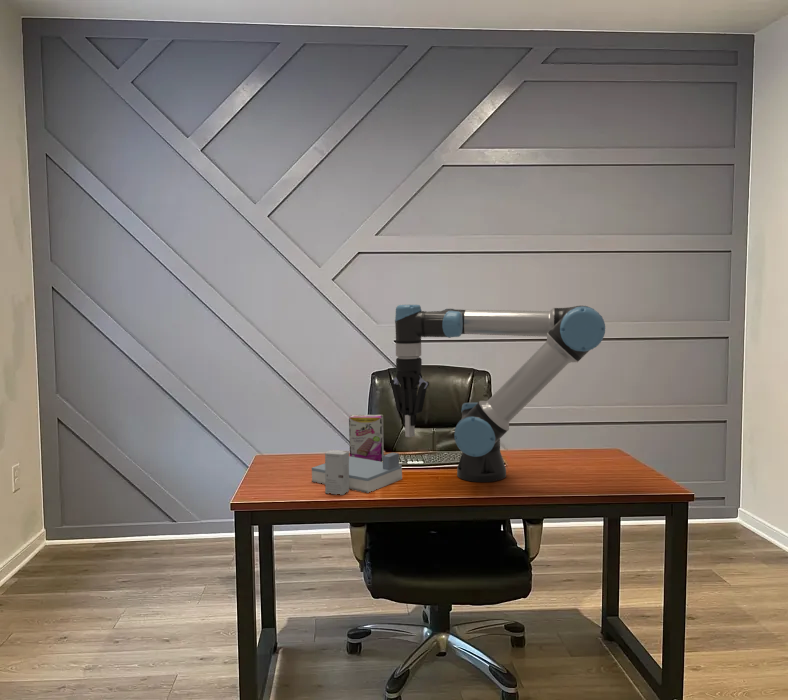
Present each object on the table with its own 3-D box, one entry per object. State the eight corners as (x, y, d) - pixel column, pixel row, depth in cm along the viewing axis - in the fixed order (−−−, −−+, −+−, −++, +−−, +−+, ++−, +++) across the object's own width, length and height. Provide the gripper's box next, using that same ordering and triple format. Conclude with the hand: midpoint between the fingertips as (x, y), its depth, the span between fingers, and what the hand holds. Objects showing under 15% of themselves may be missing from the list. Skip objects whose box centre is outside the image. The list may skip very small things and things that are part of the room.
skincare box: (324, 493, 202) (323, 452, 201) (331, 489, 206) (330, 449, 205) (344, 495, 200) (342, 454, 199) (350, 491, 204) (349, 450, 203)
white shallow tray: (402, 479, 215) (401, 467, 215) (367, 493, 201) (367, 481, 201) (347, 469, 228) (347, 458, 228) (312, 481, 214) (311, 470, 214)
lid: (401, 467, 215) (401, 452, 214) (367, 481, 201) (367, 464, 201) (347, 458, 228) (346, 443, 227) (311, 470, 214) (311, 455, 214)
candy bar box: (349, 465, 233) (348, 417, 231) (352, 461, 238) (350, 414, 236) (382, 465, 232) (381, 417, 230) (384, 461, 237) (383, 414, 235)
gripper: (434, 357, 203) (435, 436, 206) (398, 354, 211) (399, 431, 213) (419, 359, 197) (421, 441, 200) (383, 357, 205) (384, 435, 207)
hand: (409, 436), depth 207 cm, fingers closed
